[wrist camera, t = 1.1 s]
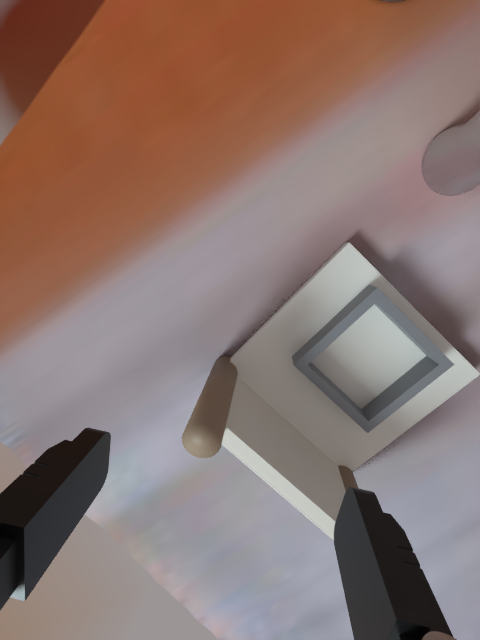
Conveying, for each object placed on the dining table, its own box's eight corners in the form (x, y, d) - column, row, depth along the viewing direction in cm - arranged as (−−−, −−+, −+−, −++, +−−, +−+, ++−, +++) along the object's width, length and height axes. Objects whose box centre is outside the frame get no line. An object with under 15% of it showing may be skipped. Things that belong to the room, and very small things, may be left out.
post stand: (338, 235, 32) (391, 229, 18) (477, 374, 34) (616, 460, 20) (208, 367, 37) (174, 440, 23) (337, 481, 39) (374, 608, 25)
